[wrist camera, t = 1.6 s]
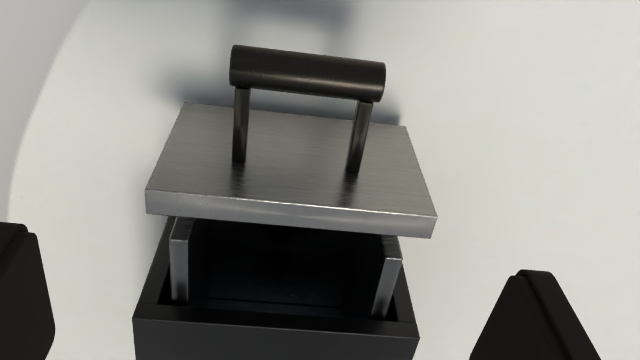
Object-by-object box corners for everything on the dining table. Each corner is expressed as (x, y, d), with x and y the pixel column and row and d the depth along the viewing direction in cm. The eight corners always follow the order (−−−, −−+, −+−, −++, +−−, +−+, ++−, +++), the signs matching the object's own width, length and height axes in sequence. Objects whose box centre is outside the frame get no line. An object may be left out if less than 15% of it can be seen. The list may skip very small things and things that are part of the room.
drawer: (183, 1, 24) (136, 65, 17) (429, 33, 25) (474, 104, 18) (185, 291, 34) (157, 401, 27) (360, 304, 35) (373, 413, 28)
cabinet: (177, 189, 31) (131, 318, 22) (390, 209, 32) (420, 338, 24) (180, 352, 39) (147, 491, 30) (350, 363, 40) (362, 499, 32)
